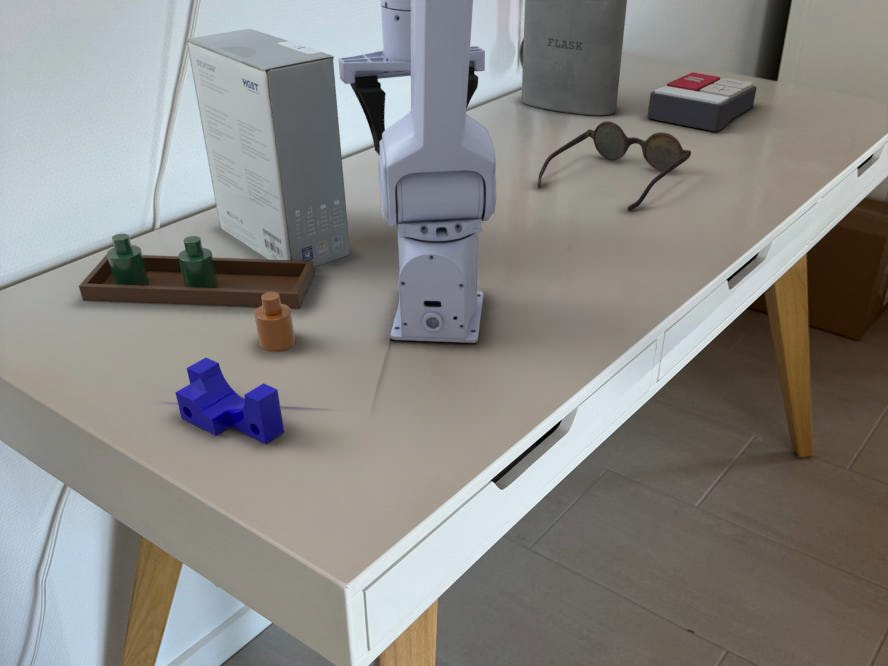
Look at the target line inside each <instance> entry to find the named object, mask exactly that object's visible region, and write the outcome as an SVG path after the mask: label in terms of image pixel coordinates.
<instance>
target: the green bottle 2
mask: <svg viewBox="0 0 888 666" xmlns="http://www.w3.org/2000/svg"><path fill="white" fill-rule="evenodd" d="M201 239H202V238H201V237H200V236H199V235H198V236H197V235H189V236H187V237H184V239H183V246H184V249H183V250H182V251H180V252H179V253H178V255H177V256H178V259H179V264H180V268H181V273H182V278H183V282H184V287H193V288H217V287H218V282H217V277H216V271H215V266H214V261H213V258H214V255H213V252H212V250H211V249H209V248H207V247H203V243H202V240H201Z"/></svg>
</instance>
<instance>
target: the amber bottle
mask: <svg viewBox="0 0 888 666" xmlns="http://www.w3.org/2000/svg"><path fill="white" fill-rule="evenodd" d="M261 300H262V306H260V307H256V309H255V310H254V320H255V327H256V333H257V338H258V339H257V340H258V344H259V347H260V348H261V349H262V350H263V351H267V352H273V353H276V352H284V351H287V350H289V349H291V348H292V347H294V346H295V344H296V338H295V337H296V336H295V330H294V329H295V328H294V321H293V315H292V314H293V313H292V309H291V308H290V307H289V306H287V305H285V304H281V301H280V295H279V294H278V293H276V292H267V293H264V294H263V295H262V296H261Z"/></svg>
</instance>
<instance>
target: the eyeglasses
mask: <svg viewBox="0 0 888 666" xmlns="http://www.w3.org/2000/svg"><path fill="white" fill-rule="evenodd" d="M588 138H591V139H592V140H593V144H594V147H595V149H596V152H597V153H598V154H599V155H600V156H601V157H602V158H604V159H606V160H609V161H617V160H620V159H622V158H623V157H624V156H625V155H626V153H627V152H628V150H629V148H630V146H632V145H635V144H636V145H639V146H640V147H641V152H642V157H643V159H644V160H645V162H646V163H647V164H648V165H649V166H650V167H651V168H653V169H655V170H657V171H661V172H659V173H658V175H656V176H655V177H654V178H652V179H651V181H650V182H649V183H648V184H647V186H646V187H645V188H644V191H643V192H642V193H641V195H640V196H639V198H637V200H636V201H635V202H633V203H632V204H629V205H628V206H627V211H628V212H631V211H633V210H635V209H637V208H638V207H639V206H640V205H641V204H642V203H643V201H644V200H645V198H646V197H647V196H648V194H649V192H650V191H651V189H652V188H653V187H654V186H655V184H656V183H658V182H659V181H660V180H661V179H663V178H664V177H665V176H667V175H668V174H669V173H670V172H673V171H674V170H675V169H676V168H678V167H680V166H681V165H682V164H684V163H685V162H687V160H688V159H690V158H691V155H692V151H691V150H689V149H684V148H683V147H682V144H681V142H680V141H679V140H678V138H677V137H675V136H674V135H672V134H670V133H669V132H661V131H660V132H655V133H652V134H651V135H649V136H648V138H646V139H645V140H643V139H642V138H638V137H635V136H633V137H628V136H627V134H626V133H625V132H624V130H623V128H622V127H621V126H620V125H618V124H617V123H616V122H613V121H609V120H607V121H606V120H605V121H603V122H600V123H599V124H598V125H597V126H596V127H595V128H594V130H593V129H587V130H586V131H585V132H583V133H581V134H579V135H578V136H576V137H575V138H573V139H571V140H570V141H568V142H567V143H566V144H564V145H562V146H561V147H559V148H558V149H556V150H555V151H554V152H552V153H550V154H549V155H548V157H547V158H546V159H545V160H544V162H543V164H542V167H541V168H540V171H539V173H538V177H537V179H538V180H537V188H541V185H542V178H543V175H544V174H545V172H546V170H547V167H548V165H549V163H550V162H551V161H552V160H553V159H555V157H557V156H558V155H560V154H562V153H563V152H564V153H565V152H566V151H567V150H568V149H569V150H570V149H571V148H572V147H574V146H576V145H578V144H579V143H581V142H583V141H584V140H587V139H588Z"/></svg>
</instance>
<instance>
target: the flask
mask: <svg viewBox="0 0 888 666" xmlns="http://www.w3.org/2000/svg"><path fill="white" fill-rule="evenodd" d="M627 4H628V0H524V20H523V49H522V50H523V51H522V73H521V75H522V76H521V77H522V78H521V101H522V103H523V104H525V105H527V106H530V107H533V108H537V109H542V110H547V111H552V112H557V113H566V114H573V115H582V116H594V117H596V116H609V115H612V114H615V112H616V111H617V106H618V97H619V96H618V95H619V86H620V77H621V67H622V66H621V65H622V55H623V46H624V35H625V27H626V26H625V25H626V16H627Z"/></svg>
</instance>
